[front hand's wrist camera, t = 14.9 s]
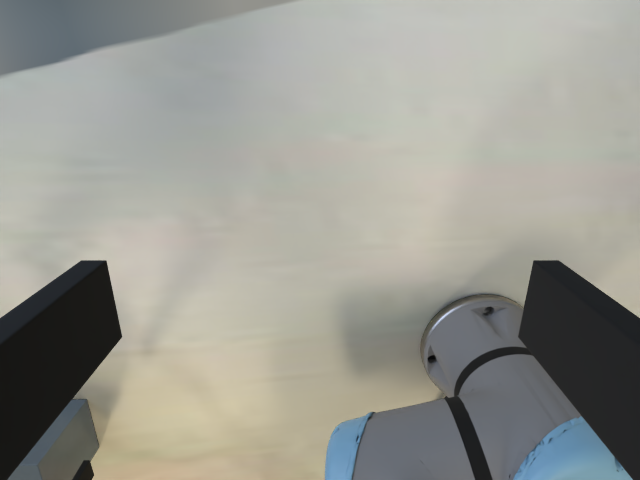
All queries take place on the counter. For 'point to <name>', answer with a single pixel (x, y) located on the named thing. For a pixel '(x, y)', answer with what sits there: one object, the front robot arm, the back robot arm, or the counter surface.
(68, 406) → the brick
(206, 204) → the counter surface
